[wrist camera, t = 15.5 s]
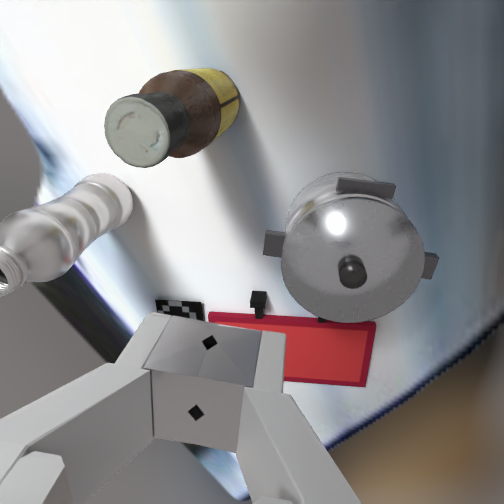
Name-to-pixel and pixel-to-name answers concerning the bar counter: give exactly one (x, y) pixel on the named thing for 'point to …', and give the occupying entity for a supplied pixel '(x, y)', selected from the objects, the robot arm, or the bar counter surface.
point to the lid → (352, 259)
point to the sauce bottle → (172, 116)
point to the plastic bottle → (60, 230)
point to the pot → (330, 190)
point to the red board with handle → (300, 341)
